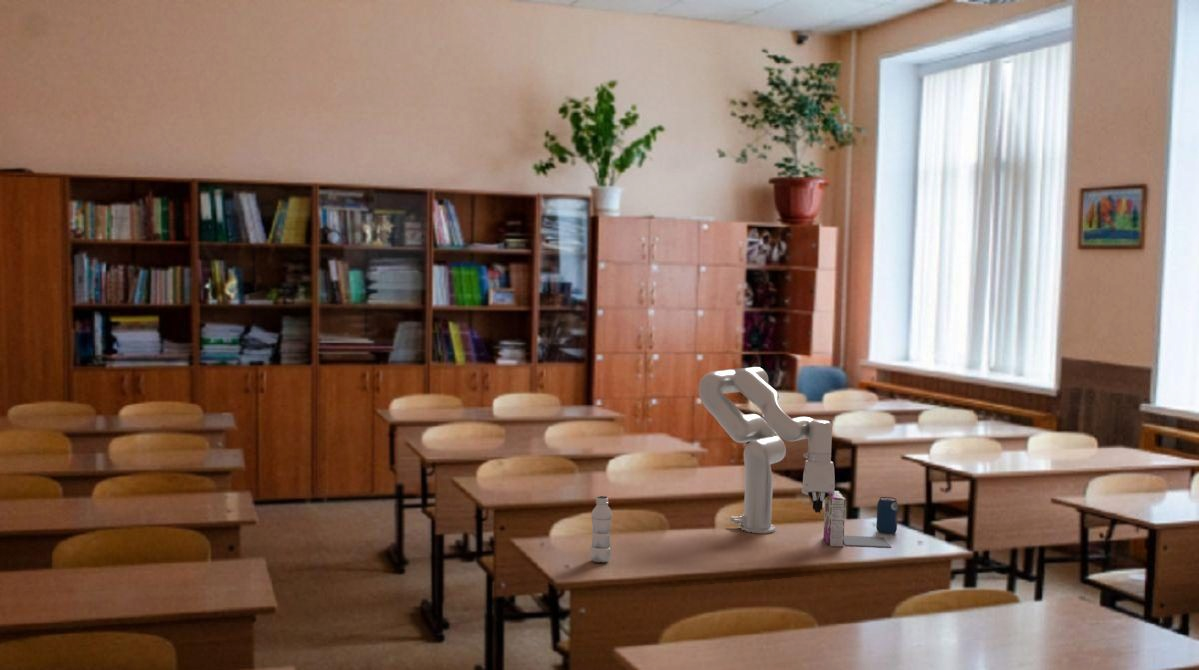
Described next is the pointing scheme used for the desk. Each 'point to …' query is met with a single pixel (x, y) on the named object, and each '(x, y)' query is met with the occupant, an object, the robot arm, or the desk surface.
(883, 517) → the soda can
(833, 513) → the candy bar box
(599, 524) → the plastic bottle
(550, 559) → the desk surface
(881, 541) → the mat
